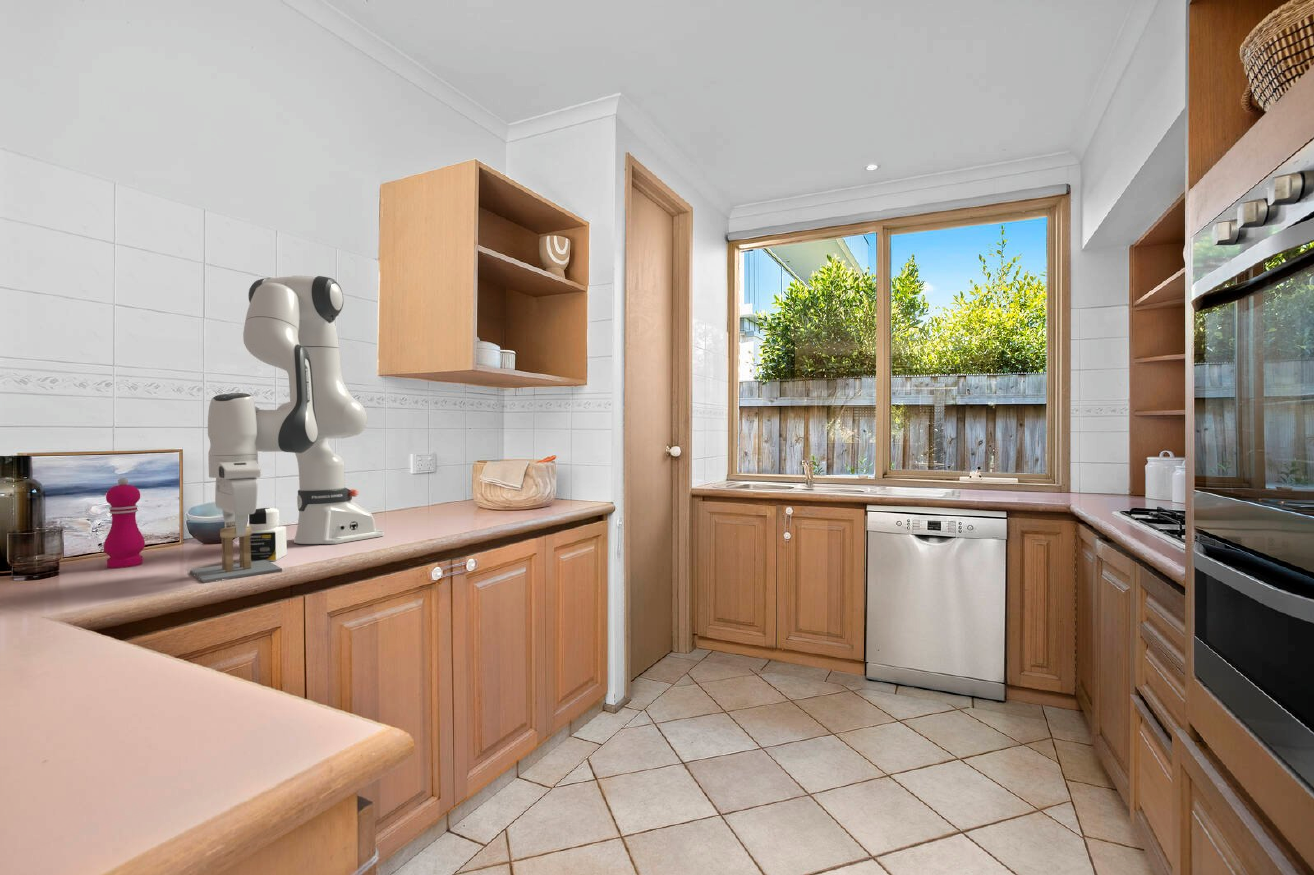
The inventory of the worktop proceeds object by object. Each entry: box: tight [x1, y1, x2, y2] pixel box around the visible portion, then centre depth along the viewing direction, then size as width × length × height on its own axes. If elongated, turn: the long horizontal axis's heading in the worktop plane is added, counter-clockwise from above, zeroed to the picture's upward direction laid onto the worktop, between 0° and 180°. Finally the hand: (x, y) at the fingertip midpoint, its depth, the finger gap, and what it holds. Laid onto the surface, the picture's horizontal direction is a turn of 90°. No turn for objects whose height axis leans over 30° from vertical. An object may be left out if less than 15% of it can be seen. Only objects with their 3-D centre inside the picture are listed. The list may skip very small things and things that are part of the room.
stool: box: [219, 525, 251, 572], centre depth 135 cm, size 6×6×9 cm
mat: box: [189, 559, 283, 583], centre depth 135 cm, size 14×14×1 cm
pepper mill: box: [103, 477, 146, 569], centre depth 144 cm, size 7×7×20 cm
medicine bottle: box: [248, 507, 288, 562], centre depth 149 cm, size 7×7×12 cm
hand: (235, 532), depth 135 cm, fingers open, 8 cm apart
